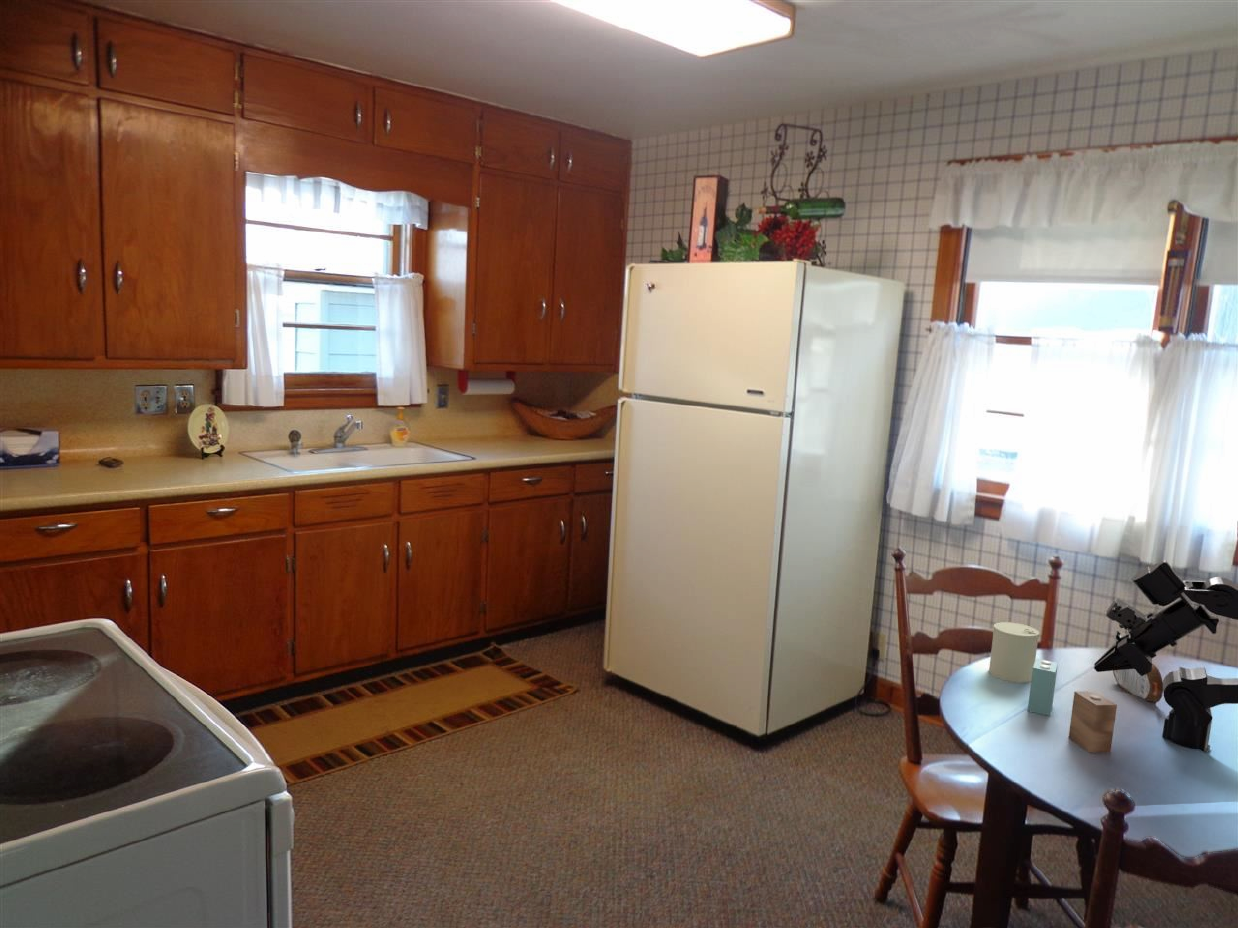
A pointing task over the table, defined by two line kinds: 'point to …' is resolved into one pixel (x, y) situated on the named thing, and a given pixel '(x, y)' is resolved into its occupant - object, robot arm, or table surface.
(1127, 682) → the tin
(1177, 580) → the robot arm
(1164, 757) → the table surface
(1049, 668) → the teal block
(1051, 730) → the table surface
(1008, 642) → the can
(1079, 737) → the brown box
